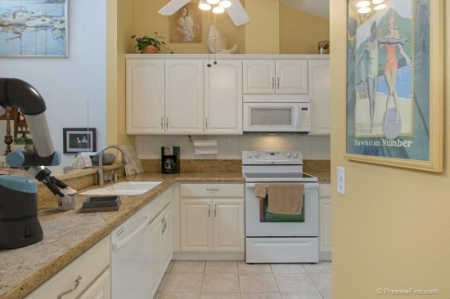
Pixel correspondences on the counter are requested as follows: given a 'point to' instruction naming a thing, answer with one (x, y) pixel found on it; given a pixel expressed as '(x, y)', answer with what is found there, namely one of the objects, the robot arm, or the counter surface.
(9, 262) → the counter surface
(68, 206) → the teacup with lid
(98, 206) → the collar stand
